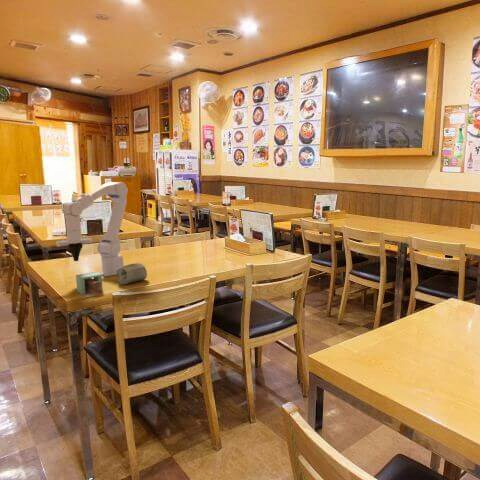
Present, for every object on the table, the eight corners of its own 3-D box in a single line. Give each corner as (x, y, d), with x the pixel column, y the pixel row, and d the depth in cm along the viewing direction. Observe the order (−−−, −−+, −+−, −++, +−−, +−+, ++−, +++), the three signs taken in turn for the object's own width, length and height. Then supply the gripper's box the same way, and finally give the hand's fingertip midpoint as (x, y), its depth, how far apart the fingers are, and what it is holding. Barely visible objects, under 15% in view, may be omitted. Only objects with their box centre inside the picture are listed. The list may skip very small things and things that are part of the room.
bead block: (97, 287, 172) (96, 271, 171) (102, 290, 167) (101, 274, 166) (77, 291, 167) (75, 275, 166) (81, 294, 162) (80, 277, 161)
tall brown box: (85, 287, 173) (85, 276, 172) (101, 293, 164) (101, 281, 164) (78, 289, 171) (77, 277, 170) (94, 295, 162) (93, 282, 161)
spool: (122, 280, 170) (121, 258, 173) (112, 286, 176) (112, 265, 180) (151, 282, 179) (150, 261, 182) (141, 288, 185) (140, 267, 189)
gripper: (58, 232, 168) (61, 264, 171) (93, 229, 177) (95, 259, 180) (54, 230, 174) (56, 261, 176) (88, 227, 183) (90, 257, 185)
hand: (76, 260), depth 178 cm, fingers closed
